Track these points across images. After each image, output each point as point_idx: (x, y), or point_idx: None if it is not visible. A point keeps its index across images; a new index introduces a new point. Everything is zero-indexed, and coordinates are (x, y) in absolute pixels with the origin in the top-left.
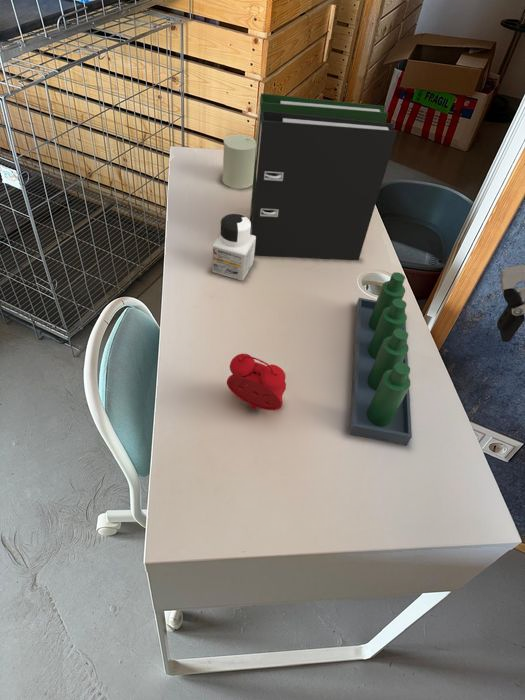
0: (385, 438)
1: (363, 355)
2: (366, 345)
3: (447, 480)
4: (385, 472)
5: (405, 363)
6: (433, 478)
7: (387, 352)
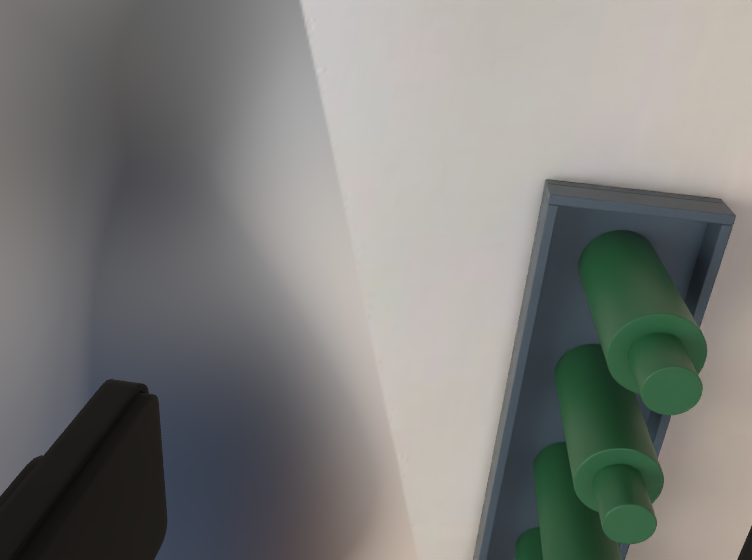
0: (616, 191)
1: None
2: None
3: (445, 77)
4: (634, 81)
5: (510, 435)
6: (487, 78)
7: (652, 456)
